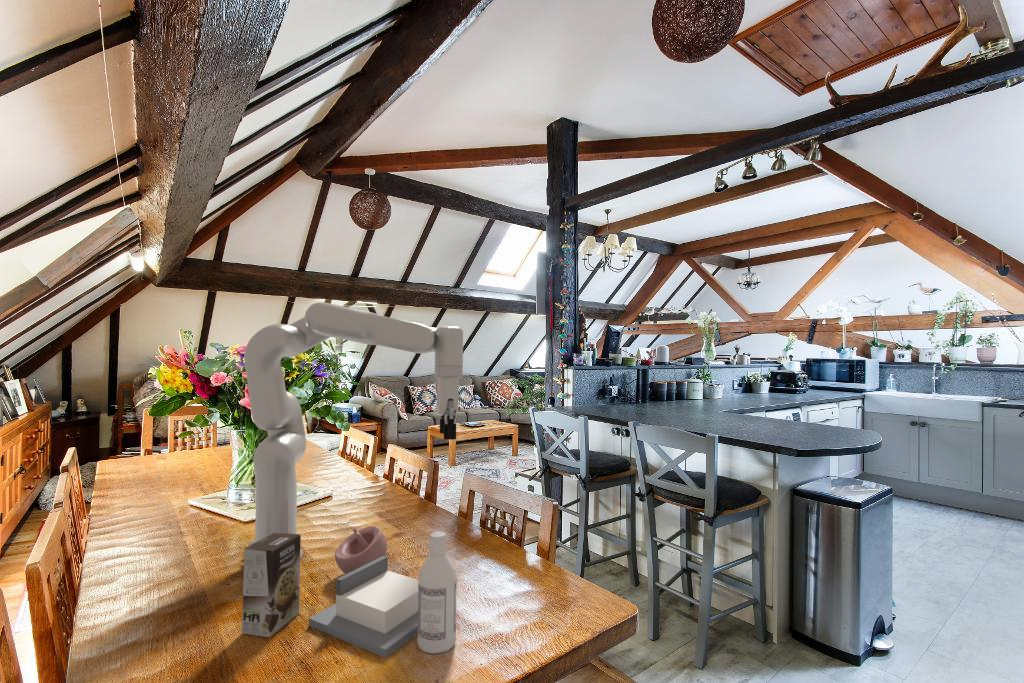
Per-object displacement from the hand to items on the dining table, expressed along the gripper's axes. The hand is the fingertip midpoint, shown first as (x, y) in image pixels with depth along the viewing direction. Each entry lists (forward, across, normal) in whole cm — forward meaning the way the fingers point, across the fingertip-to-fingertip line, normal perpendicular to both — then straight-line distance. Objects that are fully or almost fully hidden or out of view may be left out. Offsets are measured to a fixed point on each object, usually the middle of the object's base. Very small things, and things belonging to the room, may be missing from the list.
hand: (447, 436), depth 134 cm
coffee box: (+31, +28, -37) cm, 56 cm away
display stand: (+31, +30, -16) cm, 46 cm away
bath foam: (+31, +42, -6) cm, 52 cm away
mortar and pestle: (+31, +10, -21) cm, 39 cm away
